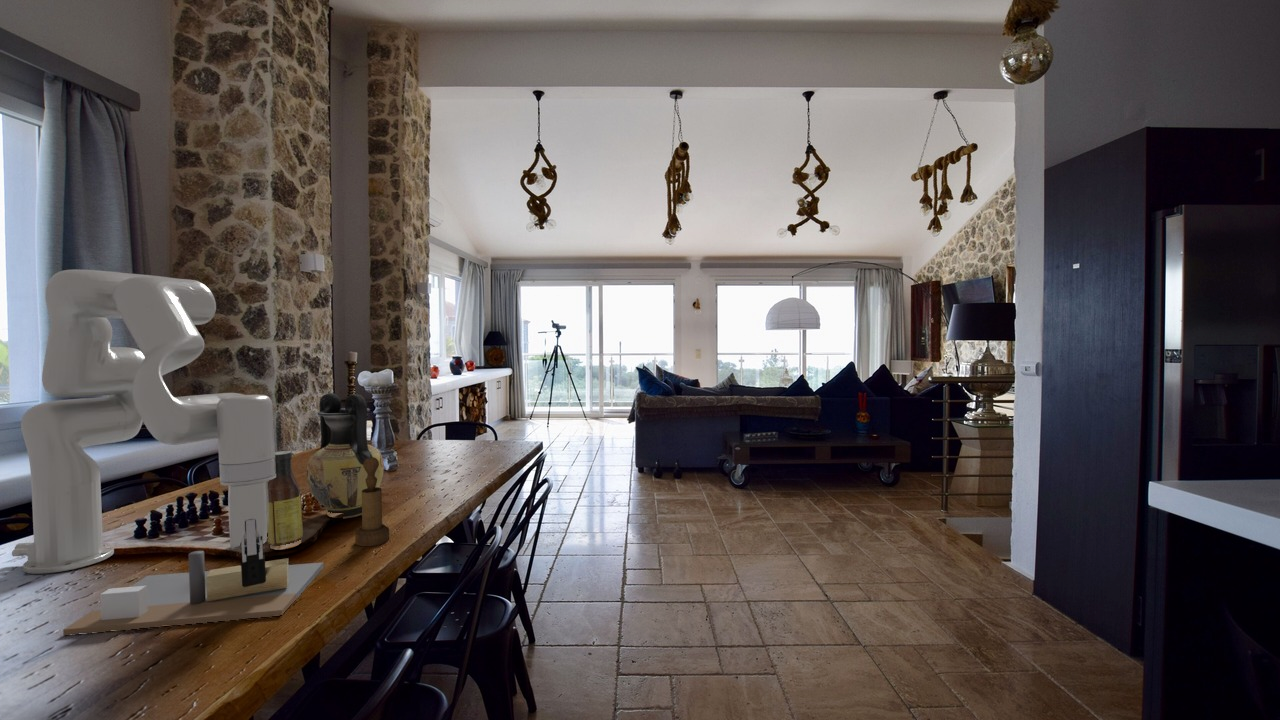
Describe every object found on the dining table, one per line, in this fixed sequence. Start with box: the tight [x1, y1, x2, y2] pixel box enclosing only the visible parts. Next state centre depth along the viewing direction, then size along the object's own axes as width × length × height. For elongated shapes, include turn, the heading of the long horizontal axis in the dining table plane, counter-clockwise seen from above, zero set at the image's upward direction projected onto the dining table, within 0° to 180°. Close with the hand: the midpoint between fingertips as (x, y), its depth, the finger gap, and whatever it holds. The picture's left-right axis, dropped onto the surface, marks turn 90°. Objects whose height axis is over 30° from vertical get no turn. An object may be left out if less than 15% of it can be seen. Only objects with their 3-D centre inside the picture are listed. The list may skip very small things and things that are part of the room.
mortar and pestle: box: [354, 457, 390, 547], centre depth 123 cm, size 7×6×18 cm
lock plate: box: [62, 550, 325, 635], centre depth 97 cm, size 29×20×9 cm
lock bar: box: [206, 557, 289, 601], centre depth 96 cm, size 11×3×4 cm, turn 117°
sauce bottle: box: [267, 450, 304, 546], centre depth 120 cm, size 7×6×20 cm
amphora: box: [306, 392, 385, 519], centre depth 142 cm, size 18×17×30 cm
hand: (254, 583), depth 94 cm, fingers closed
